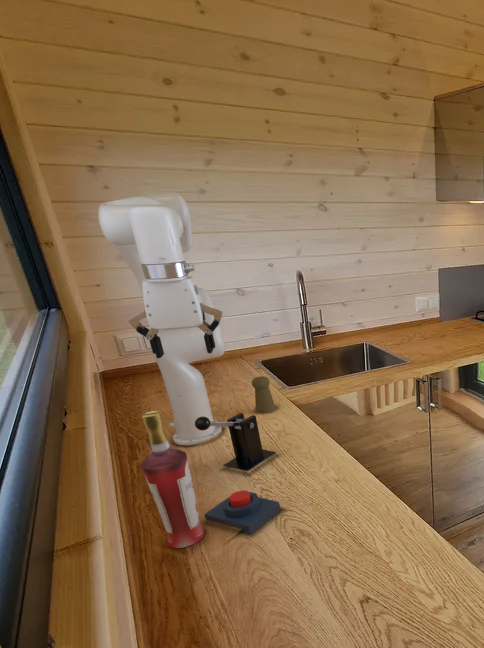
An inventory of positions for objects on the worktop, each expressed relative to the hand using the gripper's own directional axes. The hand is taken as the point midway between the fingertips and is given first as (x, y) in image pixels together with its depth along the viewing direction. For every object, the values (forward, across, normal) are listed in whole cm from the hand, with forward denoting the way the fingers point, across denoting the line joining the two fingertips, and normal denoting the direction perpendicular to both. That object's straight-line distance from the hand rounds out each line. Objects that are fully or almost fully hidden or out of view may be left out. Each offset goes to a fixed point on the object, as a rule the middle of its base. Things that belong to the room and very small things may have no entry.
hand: (186, 354), depth 104 cm
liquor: (+33, +3, +21) cm, 39 cm away
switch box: (+33, -7, +15) cm, 37 cm away
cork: (+33, -8, -45) cm, 56 cm away
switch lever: (+21, -3, -5) cm, 21 cm away
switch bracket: (+33, -6, -10) cm, 35 cm away
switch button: (+29, -7, +15) cm, 34 cm away
